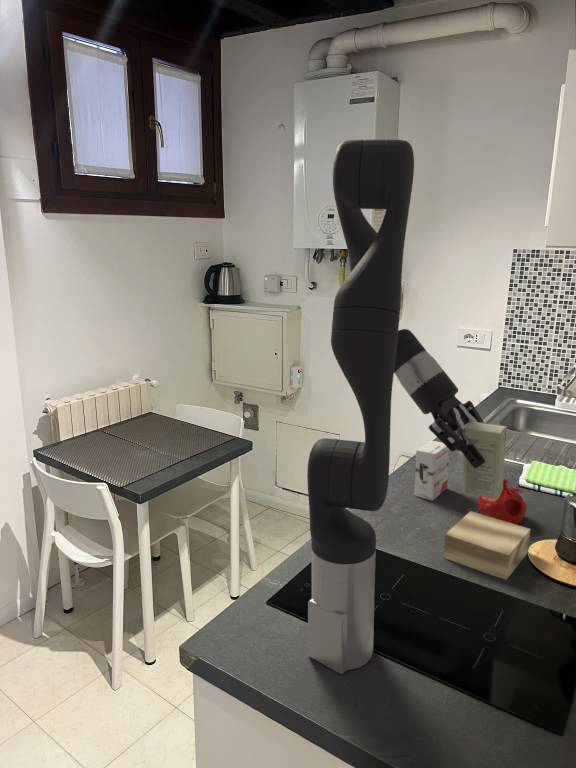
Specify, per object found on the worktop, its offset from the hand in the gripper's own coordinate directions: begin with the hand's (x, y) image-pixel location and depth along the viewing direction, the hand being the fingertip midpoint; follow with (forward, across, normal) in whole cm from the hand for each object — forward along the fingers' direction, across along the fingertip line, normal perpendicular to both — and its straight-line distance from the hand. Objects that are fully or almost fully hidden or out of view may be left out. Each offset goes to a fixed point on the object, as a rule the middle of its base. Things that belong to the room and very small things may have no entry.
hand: (486, 460), depth 100 cm
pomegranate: (+14, +23, +19) cm, 33 cm away
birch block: (+15, +7, +17) cm, 24 cm away
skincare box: (+4, 0, +5) cm, 6 cm away
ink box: (+1, +26, +32) cm, 41 cm away
